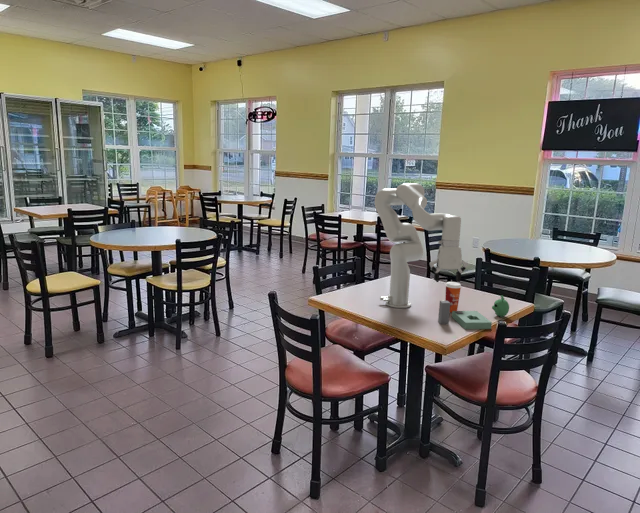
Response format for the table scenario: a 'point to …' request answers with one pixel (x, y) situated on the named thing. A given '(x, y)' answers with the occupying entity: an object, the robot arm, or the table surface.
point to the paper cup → (453, 294)
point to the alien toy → (501, 307)
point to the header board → (471, 320)
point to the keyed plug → (444, 312)
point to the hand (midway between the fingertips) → (447, 281)
